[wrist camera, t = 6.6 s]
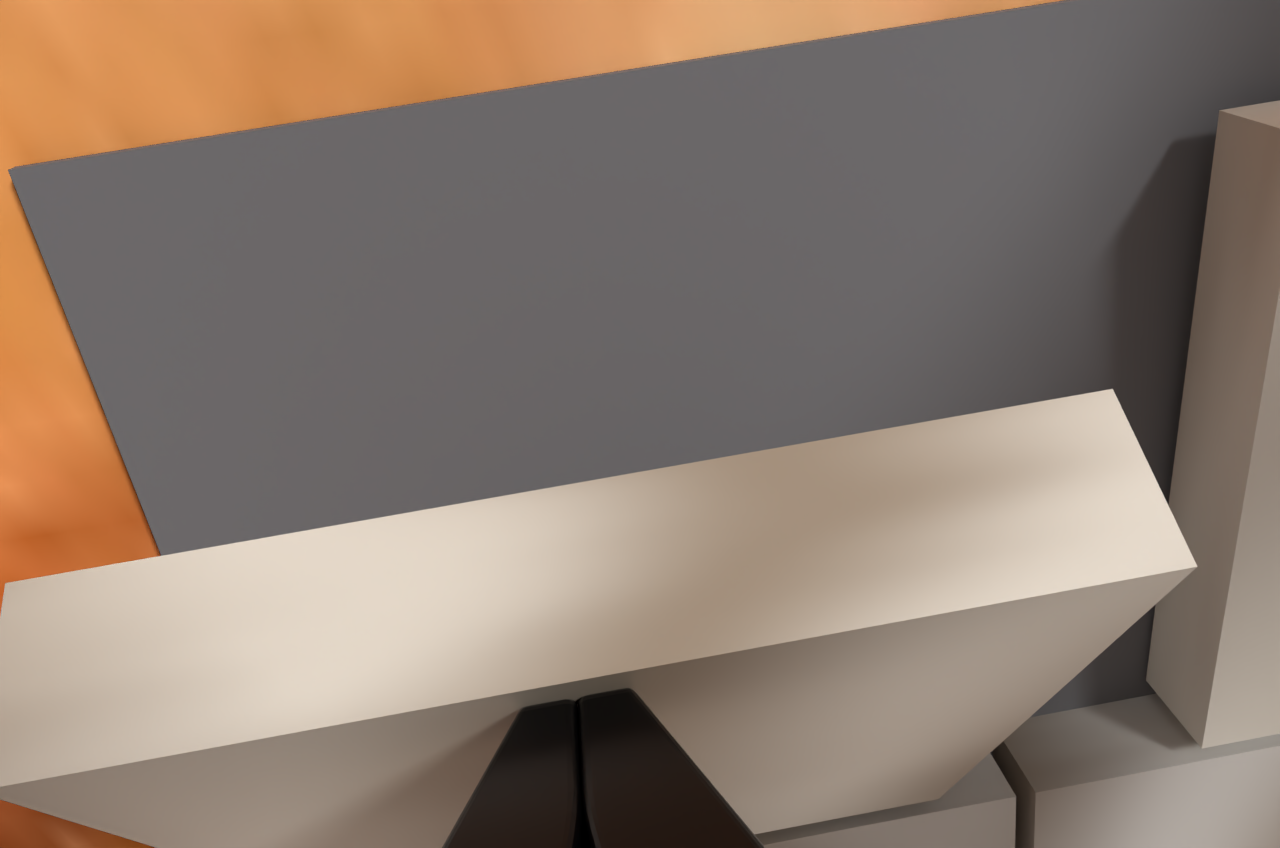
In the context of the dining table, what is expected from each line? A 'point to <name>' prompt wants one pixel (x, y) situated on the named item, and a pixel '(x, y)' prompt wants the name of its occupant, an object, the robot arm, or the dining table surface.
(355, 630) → the plank
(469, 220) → the underlay mat
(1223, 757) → the laid row
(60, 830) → the dining table surface
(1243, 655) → the plank
